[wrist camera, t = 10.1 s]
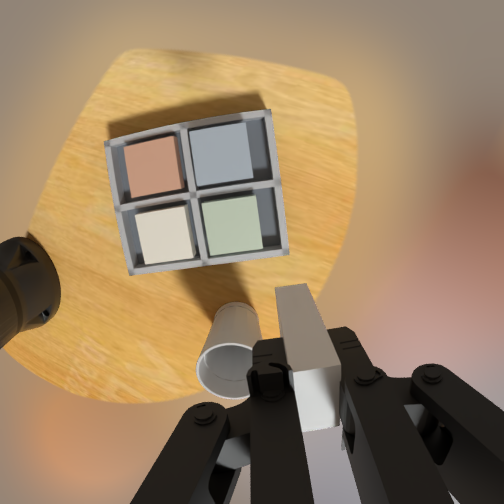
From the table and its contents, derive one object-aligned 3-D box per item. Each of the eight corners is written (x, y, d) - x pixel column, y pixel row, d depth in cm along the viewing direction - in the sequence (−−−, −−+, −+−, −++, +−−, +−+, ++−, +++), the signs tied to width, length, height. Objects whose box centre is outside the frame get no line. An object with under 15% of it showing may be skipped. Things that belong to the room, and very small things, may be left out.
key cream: (150, 259, 39) (145, 264, 37) (140, 212, 37) (134, 215, 35) (196, 253, 38) (193, 257, 36) (187, 204, 37) (184, 206, 35)
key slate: (200, 185, 35) (197, 186, 33) (192, 133, 34) (189, 131, 32) (253, 177, 35) (253, 177, 33) (245, 124, 33) (245, 122, 32)
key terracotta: (137, 196, 36) (131, 197, 35) (129, 147, 35) (123, 147, 33) (184, 187, 36) (181, 188, 34) (177, 137, 35) (173, 135, 33)
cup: (196, 321, 45) (181, 371, 33) (235, 284, 43) (230, 328, 31) (237, 354, 46) (233, 409, 35) (276, 321, 45) (284, 372, 33)
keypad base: (139, 265, 42) (129, 275, 38) (116, 142, 38) (103, 141, 34) (286, 246, 42) (289, 254, 38) (268, 114, 37) (270, 108, 33)
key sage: (212, 250, 38) (210, 255, 36) (204, 201, 37) (201, 203, 35) (262, 244, 38) (263, 248, 36) (255, 194, 37) (255, 195, 35)
